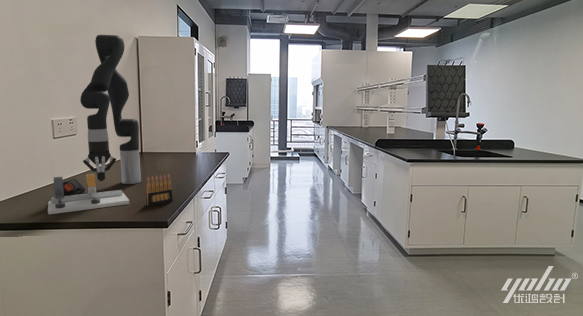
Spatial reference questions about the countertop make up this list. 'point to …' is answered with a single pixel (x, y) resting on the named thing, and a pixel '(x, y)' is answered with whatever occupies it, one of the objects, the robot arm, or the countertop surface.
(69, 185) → the battery
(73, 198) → the rail and fixed leg
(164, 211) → the countertop surface
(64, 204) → the hole plate
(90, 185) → the block
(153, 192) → the ammunition clip
